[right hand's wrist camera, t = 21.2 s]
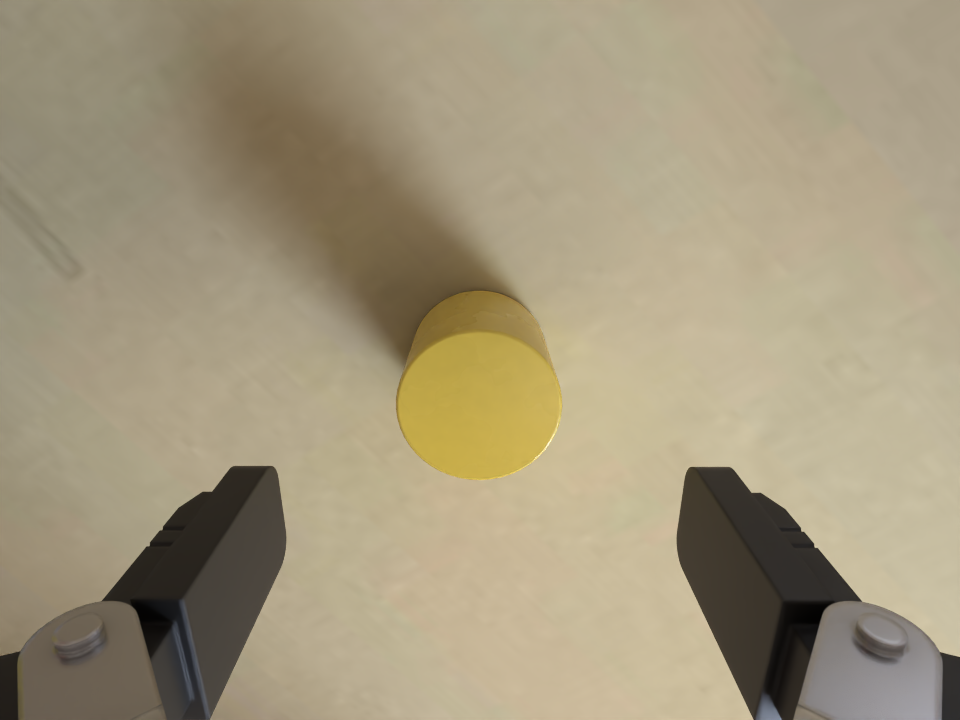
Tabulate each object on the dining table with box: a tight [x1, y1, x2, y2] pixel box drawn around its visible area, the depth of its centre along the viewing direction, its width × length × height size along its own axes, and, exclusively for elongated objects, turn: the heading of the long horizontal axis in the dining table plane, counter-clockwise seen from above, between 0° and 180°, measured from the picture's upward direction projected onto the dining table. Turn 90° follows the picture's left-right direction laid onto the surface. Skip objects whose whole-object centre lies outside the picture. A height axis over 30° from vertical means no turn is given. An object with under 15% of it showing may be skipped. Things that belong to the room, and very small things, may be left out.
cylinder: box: [396, 291, 562, 480], centre depth 18 cm, size 4×4×4 cm
